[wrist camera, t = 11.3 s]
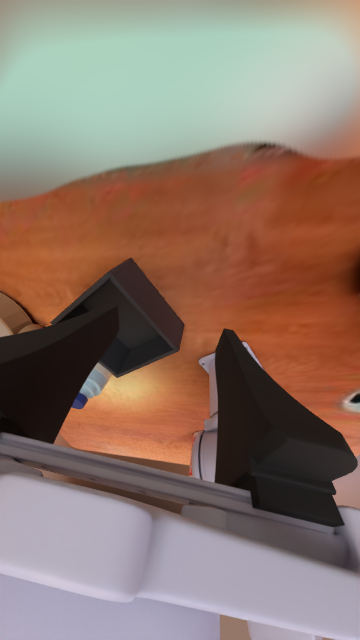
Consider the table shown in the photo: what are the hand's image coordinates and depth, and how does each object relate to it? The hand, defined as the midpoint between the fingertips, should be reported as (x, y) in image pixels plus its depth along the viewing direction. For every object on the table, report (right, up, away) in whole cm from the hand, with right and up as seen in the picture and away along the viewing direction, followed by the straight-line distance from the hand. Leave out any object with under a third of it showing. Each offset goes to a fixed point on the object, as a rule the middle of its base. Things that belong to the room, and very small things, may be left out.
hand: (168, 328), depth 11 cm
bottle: (-12, -6, +18) cm, 22 cm away
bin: (-6, +2, +13) cm, 14 cm away
